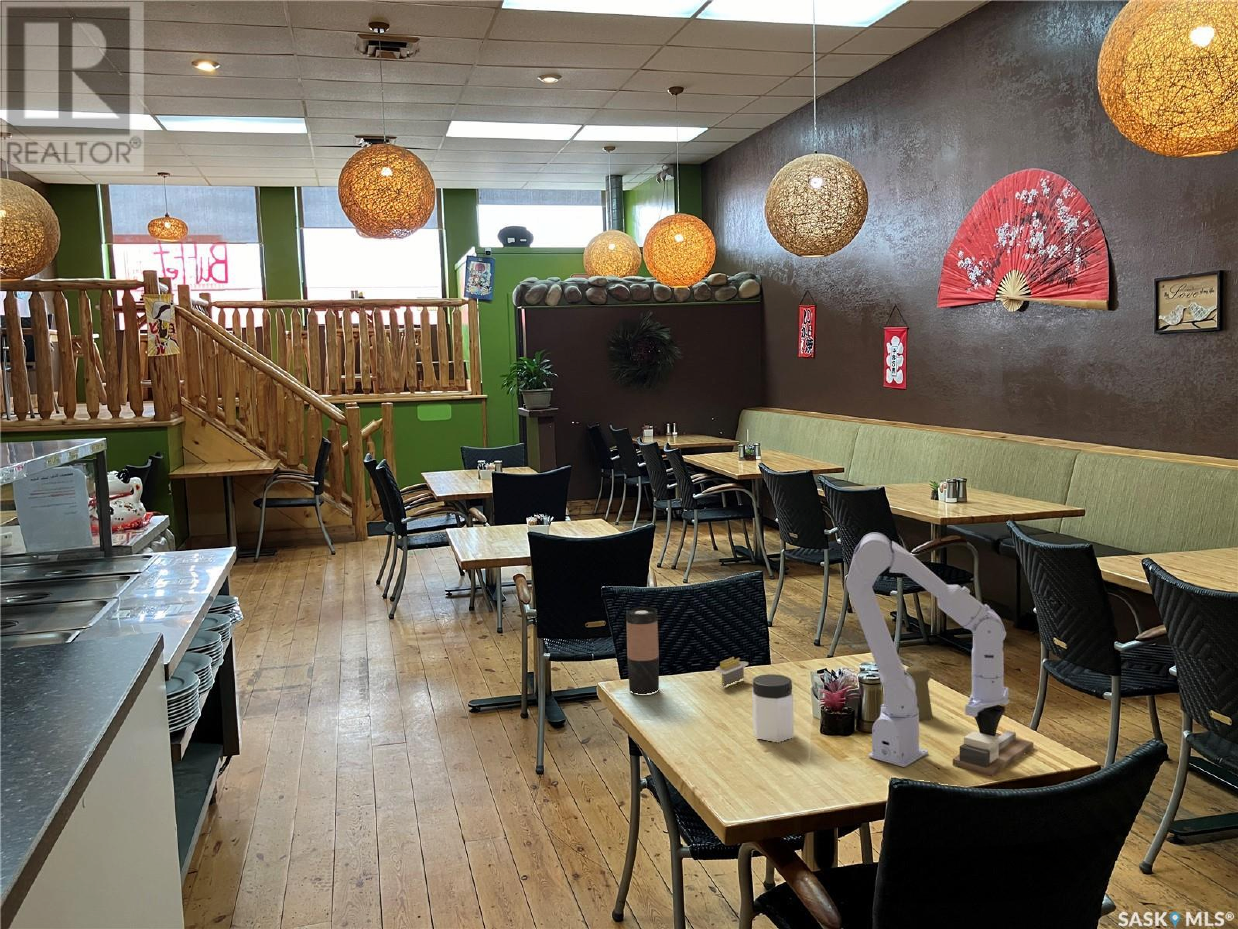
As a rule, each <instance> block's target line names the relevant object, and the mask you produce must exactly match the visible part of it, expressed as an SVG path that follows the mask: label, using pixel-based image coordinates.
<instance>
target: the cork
mask: <svg viewBox="0 0 1238 929" xmlns="http://www.w3.org/2000/svg"><path fill="white" fill-rule="evenodd" d="M905 671H906V672H907V673H908V674H909V675H910V676H911V677H912V678H913V680H914V682H915V685H916V690H915V693H916V696H917V707H918V709H919V721H928V720H927V719H929V720H932V719H933V710H932V703H931V697H930V689H929V681H930V680H931V672H930V670H929V668H928V667H926V666H923V665H910V666H908V667H907V668H906V669H905Z"/></svg>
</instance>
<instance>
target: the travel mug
mask: <svg viewBox="0 0 1238 929" xmlns="http://www.w3.org/2000/svg"><path fill="white" fill-rule="evenodd" d="M625 616H626V646H627V647H626V648H627V649H626V652H627V654H626V656H627V672H628V687H629V688H628V689H629V692H630V691H632V692H633V693H638V694H647V693H652V692H655V691H657V690H658V689H660V677H659V676H660V670H659V669H660V663H659V662H660V661H659V660H660V657H659V656H660V654H659V653H660V651H659V628H658V627H659V626H658V610H657V609H656V608H654V607H649V606H637V607H634V608H633V609H632V610H629V609H627V610H626V612H625Z"/></svg>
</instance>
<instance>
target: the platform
mask: <svg viewBox="0 0 1238 929" xmlns="http://www.w3.org/2000/svg"><path fill="white" fill-rule="evenodd" d="M719 664H720V665H719V666H717V667H715V672H717V673H718V674H721V684H722V683H724V684H723V685H724V686H726V685H727V684H731V683H733V682H735V681H739V680H740V679H742V678H744V679H745V676H744V674H745V672H744V668H745V667H746V666H749V662H748V661H740V657H738V658H736V659H735V657H734V656H732V657H730V658H728V659H724V660H722V661H719ZM724 686H723V687H724Z"/></svg>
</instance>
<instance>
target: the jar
mask: <svg viewBox="0 0 1238 929" xmlns="http://www.w3.org/2000/svg"><path fill="white" fill-rule="evenodd" d="M792 682H793V681H792V679H791V678H790V677H789V676H785V675H781V674H773V673H771V674H770V673H769V674H762V675H761V674H760V675H757V676H755V677H754V678H753V679H752V690H751V698H752V732H753V735H754V736H755V739H756V740H757V739H763V740H768V741H772V742H771V743H774V742H777V743H776V744H778V742H779V743H781V741H782V742H785V741H784V740H786V741H788V740H787V739H789V740H792V739H794V738H795V728H794V726H795V725H794V720H795V719H794V694H793V683H792ZM791 738H792V739H791ZM768 741H767V742H768Z"/></svg>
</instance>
